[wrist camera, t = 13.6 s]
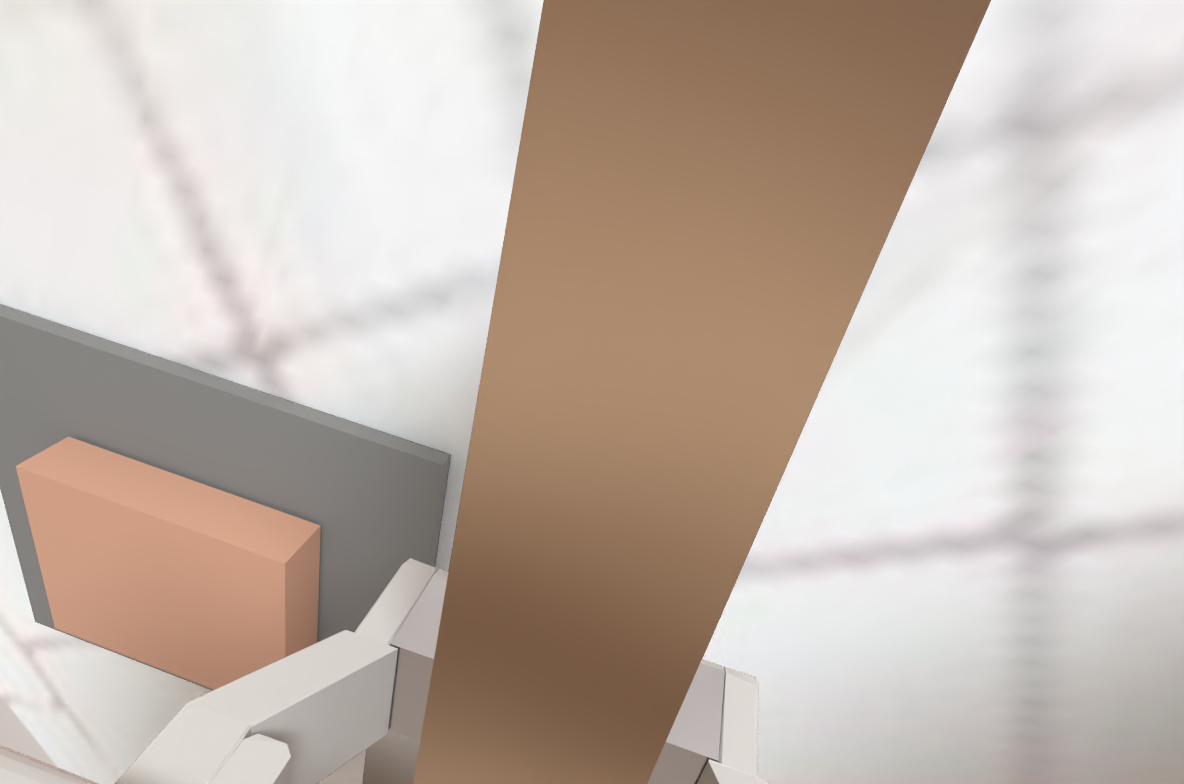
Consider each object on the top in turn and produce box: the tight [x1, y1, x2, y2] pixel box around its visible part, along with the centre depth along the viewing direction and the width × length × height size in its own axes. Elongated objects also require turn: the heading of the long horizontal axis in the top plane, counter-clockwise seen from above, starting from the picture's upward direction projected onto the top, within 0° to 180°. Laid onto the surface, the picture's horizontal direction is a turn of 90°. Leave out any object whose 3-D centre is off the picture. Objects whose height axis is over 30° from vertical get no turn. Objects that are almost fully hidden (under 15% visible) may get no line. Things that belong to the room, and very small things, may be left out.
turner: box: [363, 0, 991, 784], centre depth 11 cm, size 21×7×4 cm, turn 166°
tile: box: [16, 436, 321, 690], centre depth 26 cm, size 10×2×8 cm
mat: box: [0, 304, 451, 750], centre depth 27 cm, size 18×16×1 cm
